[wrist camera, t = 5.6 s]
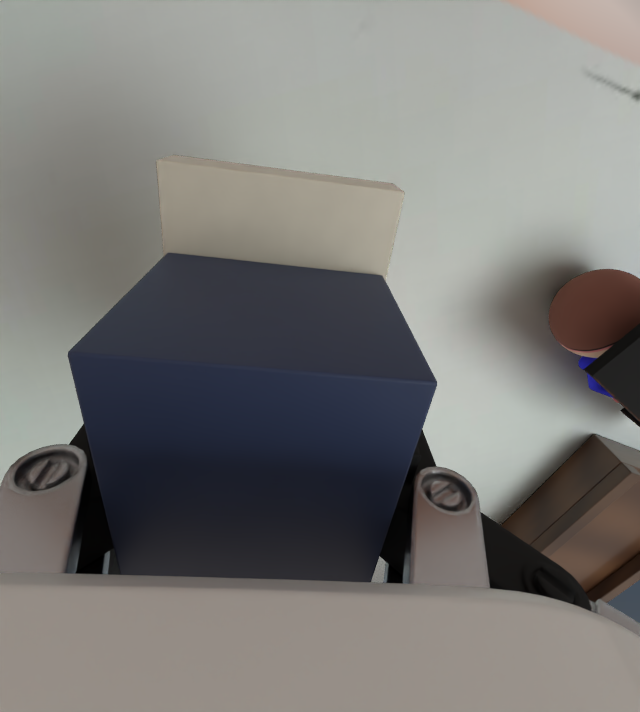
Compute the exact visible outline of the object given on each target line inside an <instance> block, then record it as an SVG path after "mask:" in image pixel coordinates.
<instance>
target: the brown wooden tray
mask: <svg viewBox="0 0 640 712" xmlns="http://www.w3.org/2000/svg"><path fill="white" fill-rule="evenodd" d="M501 526H502V527H503V528H505V529H506V530H508V531H509V532H511V533H512V534H514V535H515V536H517V537H518V538H520V539H521V540H523V541H524V542H526V543H527V544H529V545H530V546H532V547H533V548H535V549H536V550H538V551H539V552H541V553H542V554H543V555H545V556H546V557H548V558H549V559H551V560H552V561H554V562H555V563H557V564H558V565H560V566H561V567H562V568H564V569H565V570H566V571H567V572H569V573H570V574H571V575H572V576H573V577H574V578H575V579H576V580H577V581H578V583H579V584H580V585H581V586H582V588H583V590H584V591H585V593H586V595H587V596H588V599H589V600H591V601H592V602H594V603H595V602H596V601H597V600H598V599H600V600H602V601H603V602H605V603H607V602H609V601H610V600H612V599H613V598H615V597H616V596H617V595H619V594H620V593H622V592H623V591H624V590H626V589H627V588H629V587H630V586H631V585H633V584H634V583H636V582H637V581H639V580H640V451H638V450H636V449H633V448H630V447H628V446H625V445H622V444H620V443H617V442H614V441H612V440H609V439H606V438H604V437H601V436H598V435H596V434H593V435H592V436H591V437H590V438H589V439H588V440H587V441H586V442H585V443H584V444H583V445H582V446H581V447H580V448H579V449H578V450H577V451H576V452H575V453H574V454H573V455H572V456H571V457H570V458H569V459H568V460H567V461H566V462H565V463H564V464H563V465H562V466H561V467H560V468H559V469H558V470H557V471H556V472H555V473H554V474H553V475H552V476H551V477H550V478H549V479H548V480H547V481H546V482H545V483H544V484H543V485H542V486H541V487H540V488H539V489H538V490H537V491H536V492H535V493H534V494H533V495H532V496H531V497H530V498H529V499H528V500H527V501H526V502H525V503H524V504H523V505H522V506H521V507H520V508H519V509H518V510H517V511H516V512H515V513H513V514H512V515H511V516H510V517H509V518H508V519H507V520H506V521H505V522H504V523H503V524H502V525H501Z"/></svg>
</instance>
